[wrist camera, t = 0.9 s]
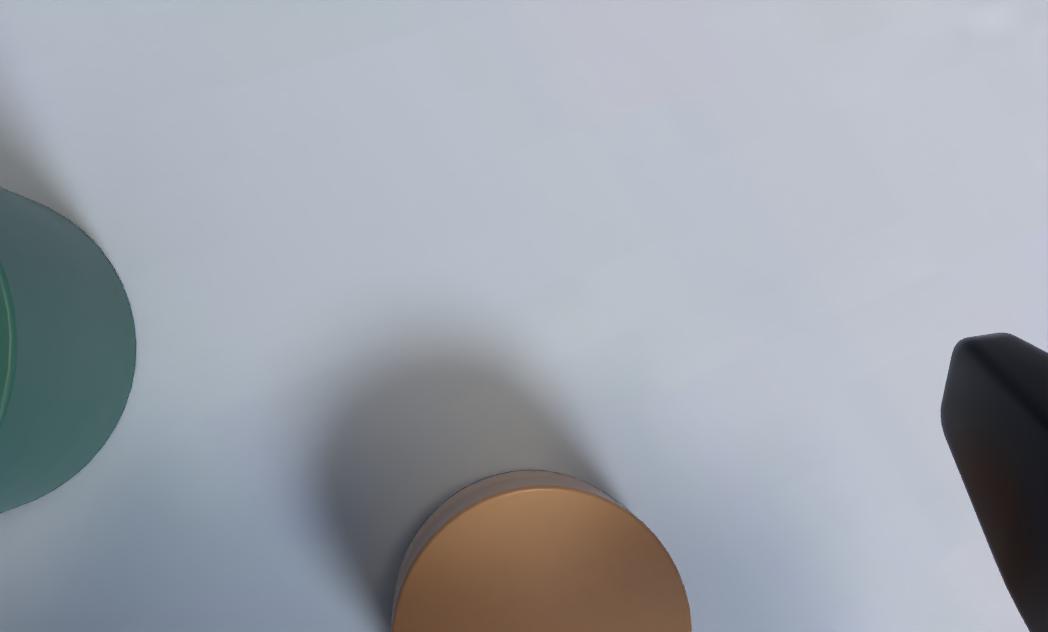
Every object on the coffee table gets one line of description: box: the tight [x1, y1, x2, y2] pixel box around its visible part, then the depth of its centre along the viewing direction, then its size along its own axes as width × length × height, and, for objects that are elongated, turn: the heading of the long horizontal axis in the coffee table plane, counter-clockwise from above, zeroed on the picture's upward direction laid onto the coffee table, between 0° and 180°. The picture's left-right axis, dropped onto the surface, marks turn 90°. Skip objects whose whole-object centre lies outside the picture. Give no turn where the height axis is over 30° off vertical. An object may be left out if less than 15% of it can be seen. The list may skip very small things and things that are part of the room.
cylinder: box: [390, 470, 692, 632], centre depth 19 cm, size 6×6×2 cm
